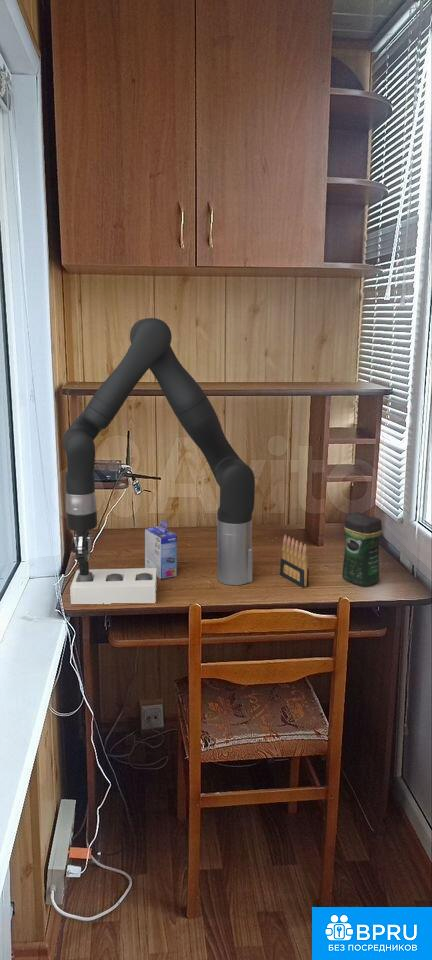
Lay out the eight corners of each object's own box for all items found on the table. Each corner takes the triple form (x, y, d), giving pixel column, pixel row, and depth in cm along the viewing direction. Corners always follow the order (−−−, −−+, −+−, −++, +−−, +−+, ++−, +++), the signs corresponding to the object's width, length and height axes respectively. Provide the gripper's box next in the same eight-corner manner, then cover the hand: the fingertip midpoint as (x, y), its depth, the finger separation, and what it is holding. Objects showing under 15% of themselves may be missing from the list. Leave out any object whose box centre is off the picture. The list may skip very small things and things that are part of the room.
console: (157, 585, 188) (156, 567, 187) (155, 604, 177) (155, 585, 176) (77, 587, 187) (76, 569, 186) (71, 606, 176) (70, 588, 175)
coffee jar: (384, 582, 190) (388, 516, 185) (364, 589, 185) (367, 522, 180) (357, 571, 197) (360, 508, 193) (337, 578, 193) (339, 513, 188)
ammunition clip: (308, 586, 187) (310, 544, 184) (303, 588, 186) (304, 545, 183) (285, 573, 196) (286, 532, 193) (279, 574, 195) (280, 533, 192)
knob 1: (93, 585, 183) (93, 571, 182) (92, 591, 180) (91, 576, 179) (79, 585, 183) (78, 571, 182) (77, 591, 179) (77, 576, 178)
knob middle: (122, 587, 184) (122, 573, 183) (121, 593, 180) (121, 578, 179) (109, 588, 183) (108, 573, 182) (107, 593, 180) (107, 579, 179)
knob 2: (151, 587, 184) (151, 572, 183) (151, 592, 181) (150, 578, 179) (137, 587, 184) (137, 573, 183) (137, 593, 180) (136, 578, 179)
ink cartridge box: (178, 576, 195) (177, 526, 191) (161, 580, 192) (159, 530, 188) (161, 565, 203) (160, 517, 199) (144, 569, 200) (142, 520, 196)
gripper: (93, 516, 170) (96, 584, 174) (99, 501, 182) (102, 564, 187) (62, 517, 169) (65, 584, 174) (70, 501, 182) (73, 564, 186)
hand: (84, 573), depth 180 cm, fingers closed
